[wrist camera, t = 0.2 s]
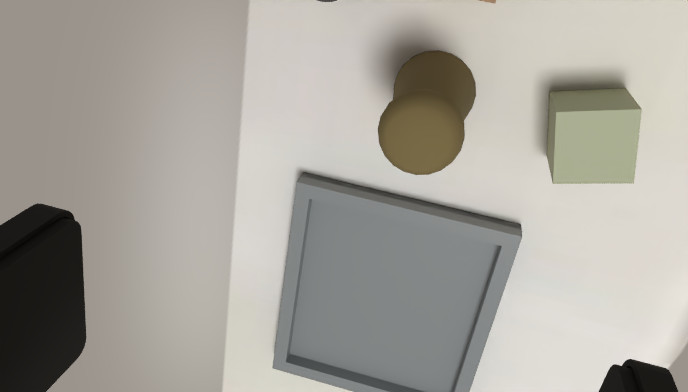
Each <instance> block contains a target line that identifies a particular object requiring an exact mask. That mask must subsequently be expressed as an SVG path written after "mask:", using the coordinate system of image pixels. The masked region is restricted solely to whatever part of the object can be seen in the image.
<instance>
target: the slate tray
mask: <svg viewBox="0 0 688 392" xmlns="http://www.w3.org/2000/svg"><path fill="white" fill-rule="evenodd" d="M521 239H522V230H521V225H520V224H516V223H512V222H508V221H504V220H499V219H495V218H491V217H487V216H483V215H479V214H474V213H470V212H466V211H462V210H458V209H454V208H450V207H445V206H441V205H437V204H433V203H429V202H425V201H420V200H416V199H412V198H408V197H404V196H400V195H396V194H391V193H387V192H383V191H379V190H375V189H371V188H366V187H362V186H358V185H354V184H350V183H346V182H342V181H337V180H333V179H329V178H325V177H321V176H317V175H312V174H308V173H303V174H302V176H301V177H300V178H299V180H298V181H297V184H296V192H295V199H294V207H293V215H292V222H291V230H290V238H289V245H288V253H287V260H286V268H285V276H284V283H283V291H282V299H281V306H280V314H279V322H278V329H277V337H276V345H275V352H274V360H273V368H274V369H277V370H280V371H284V372H287V373H291V374H294V375H298V376H301V377H305V378H308V379H312V380H315V381H319V382H322V383H326V384H329V385H333V386H336V387H340V388H343V389H347V390H350V391H354V392H469V391H470V388H471V385H472V382H473V379H474V376H475V374H476V371H477V368H478V365H479V362H480V359H481V356H482V353H483V350H484V347H485V344H486V341H487V338H488V335H489V333H490V330H491V327H492V324H493V321H494V318H495V315H496V312H497V309H498V306H499V303H500V300H501V297H502V294H503V291H504V289H505V286H506V283H507V280H508V277H509V274H510V271H511V268H512V265H513V262H514V259H515V256H516V253H517V250H518V247H519V245H520V242H521Z"/></svg>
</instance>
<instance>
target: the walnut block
mask: <svg viewBox="0 0 688 392" xmlns="http://www.w3.org/2000/svg"><path fill="white" fill-rule="evenodd" d="M480 1H485V2H490V3H495V2H496V0H480Z"/></svg>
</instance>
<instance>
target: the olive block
mask: <svg viewBox="0 0 688 392" xmlns="http://www.w3.org/2000/svg"><path fill="white" fill-rule="evenodd" d="M641 110H642V109H641V108H640V106H639V105H638V104H637V102H636V101H635V100H634V98H633V97H632V96H631V94H630V93H629V92H628V90H627V89H626V88H621V89H597V90H572V91H550V95H549V120H548V146H547V159H548V163H549V168H550V172H551V177H552V181H553V184H588V183H634V177H635V167H636V158H637V148H638V139H639V129H640V120H641Z"/></svg>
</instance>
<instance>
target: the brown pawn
mask: <svg viewBox="0 0 688 392" xmlns="http://www.w3.org/2000/svg"><path fill="white" fill-rule="evenodd" d="M475 96H476V87H475V80H474V78H473V75H472V72H471V70H470V69H469V68H468V67H467V65H466V64H465V63H464V62H463V61H462V60H461V59H459V58H457V57H456V56H454V55H453V54H450V53H446V52H442V51H427V52H423V53H421V54H418V55H416V56H414V57H412V58H411V59H410V60H409V61H408V62H406V63H405V64H404V65H403V67H402V68H401V70H400V71H399V73H398V75H397V77H396V82H395V86H394V95H393V100H392V101H391V102H390V103H389V104H388V106H387V107H386V109H385V111H384V112H383V114H382V115H381V118H380V122H379V126H378V135H379V143H380V146H381V148H382V151H383V153H384V155H385V156H386V158H387V159H388V160H389V161H390V162H391V163H392V164H393V165H394V166H396V167H397V168H399V169H400V170H402V171H404V172H407V173H411V174H415V175H428V174H432V173H435V172H438V171H441V170H442V169H443V168H445V167H446V166H448V165H449V164H450V163H452V162H453V160H454V159H455V158H456V156H457V155H458V154H459V152H460V151H461V148H462V144H463V141H464V136H465V134H464V120H465V118H466V116H467V115H468V113H469V112H470V110H471V109H472V106H473V103H474V100H475Z"/></svg>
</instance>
